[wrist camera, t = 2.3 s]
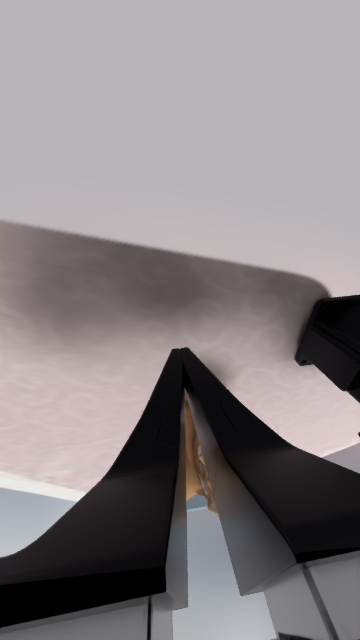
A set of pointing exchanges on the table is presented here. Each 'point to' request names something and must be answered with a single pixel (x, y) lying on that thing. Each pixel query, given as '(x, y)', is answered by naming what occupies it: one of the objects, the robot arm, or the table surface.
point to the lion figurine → (196, 465)
